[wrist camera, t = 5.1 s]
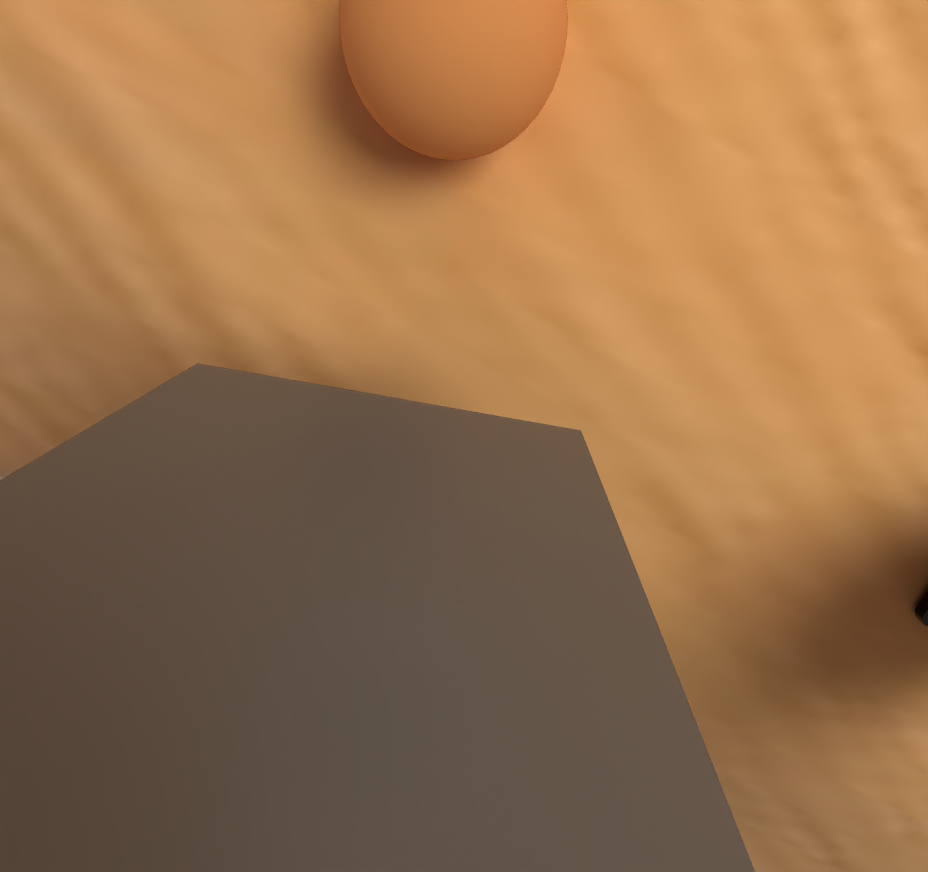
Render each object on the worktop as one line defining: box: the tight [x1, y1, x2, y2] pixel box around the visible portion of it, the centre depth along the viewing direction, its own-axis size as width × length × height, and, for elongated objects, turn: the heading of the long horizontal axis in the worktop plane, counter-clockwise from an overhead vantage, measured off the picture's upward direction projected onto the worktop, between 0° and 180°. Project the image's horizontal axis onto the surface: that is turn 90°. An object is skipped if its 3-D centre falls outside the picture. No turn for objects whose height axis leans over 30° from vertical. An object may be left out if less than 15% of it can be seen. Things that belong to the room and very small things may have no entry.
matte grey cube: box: [0, 363, 755, 872], centre depth 8 cm, size 8×8×9 cm
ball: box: [339, 0, 568, 160], centre depth 12 cm, size 5×5×5 cm
